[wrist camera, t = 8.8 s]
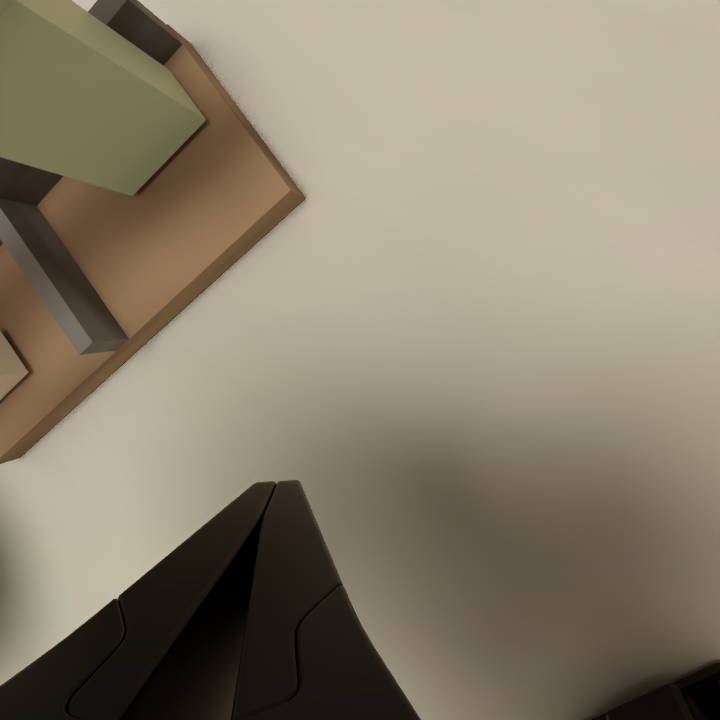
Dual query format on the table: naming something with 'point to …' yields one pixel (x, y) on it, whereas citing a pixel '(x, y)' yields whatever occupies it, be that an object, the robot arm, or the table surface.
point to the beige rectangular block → (9, 367)
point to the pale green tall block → (85, 98)
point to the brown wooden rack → (125, 242)
